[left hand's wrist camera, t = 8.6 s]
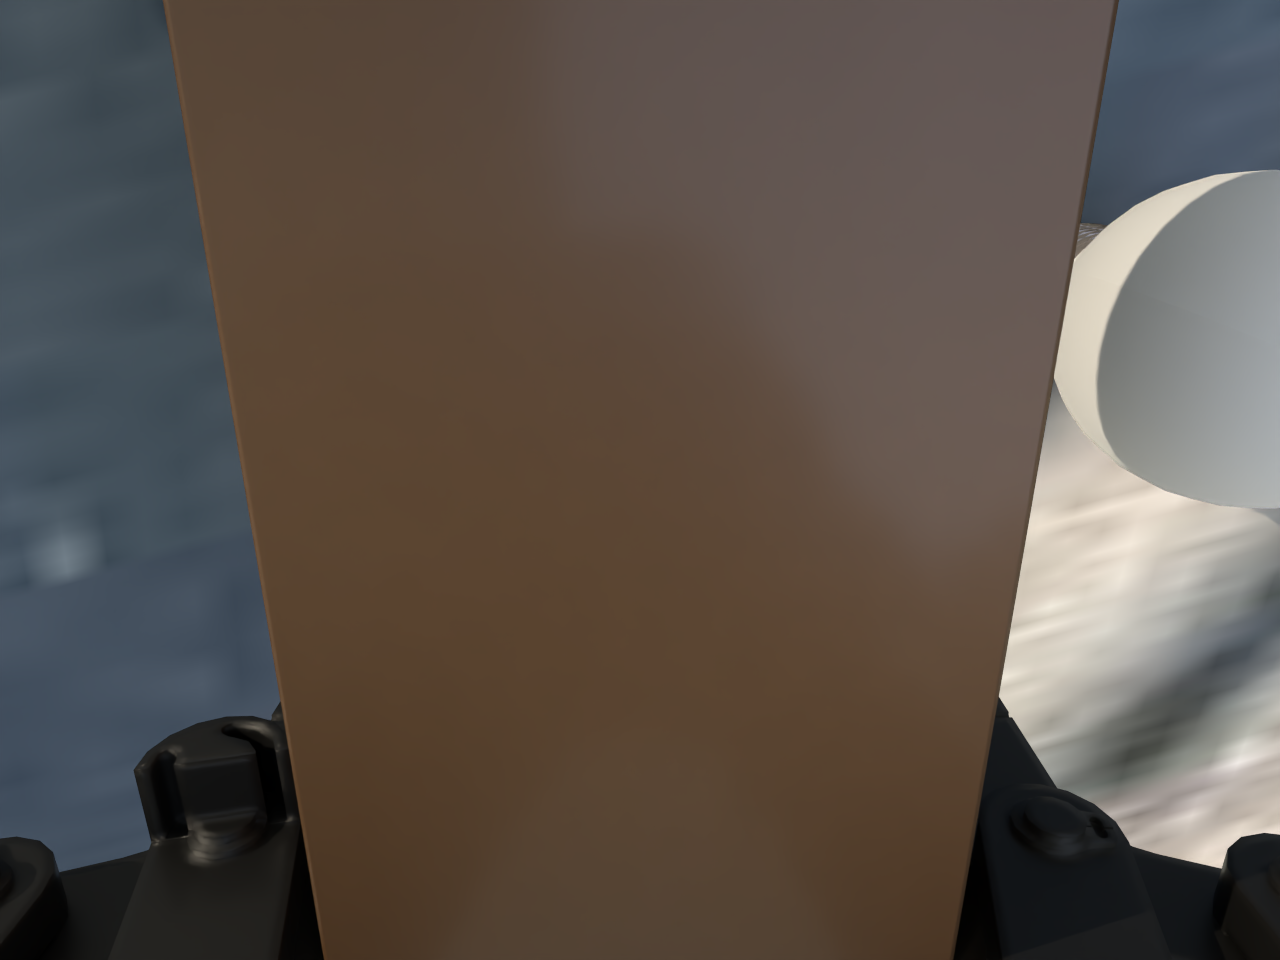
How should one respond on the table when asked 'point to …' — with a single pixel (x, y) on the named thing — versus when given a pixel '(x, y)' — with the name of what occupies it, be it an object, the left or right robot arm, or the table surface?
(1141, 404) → the light bulb
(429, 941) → the bar
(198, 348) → the table surface
